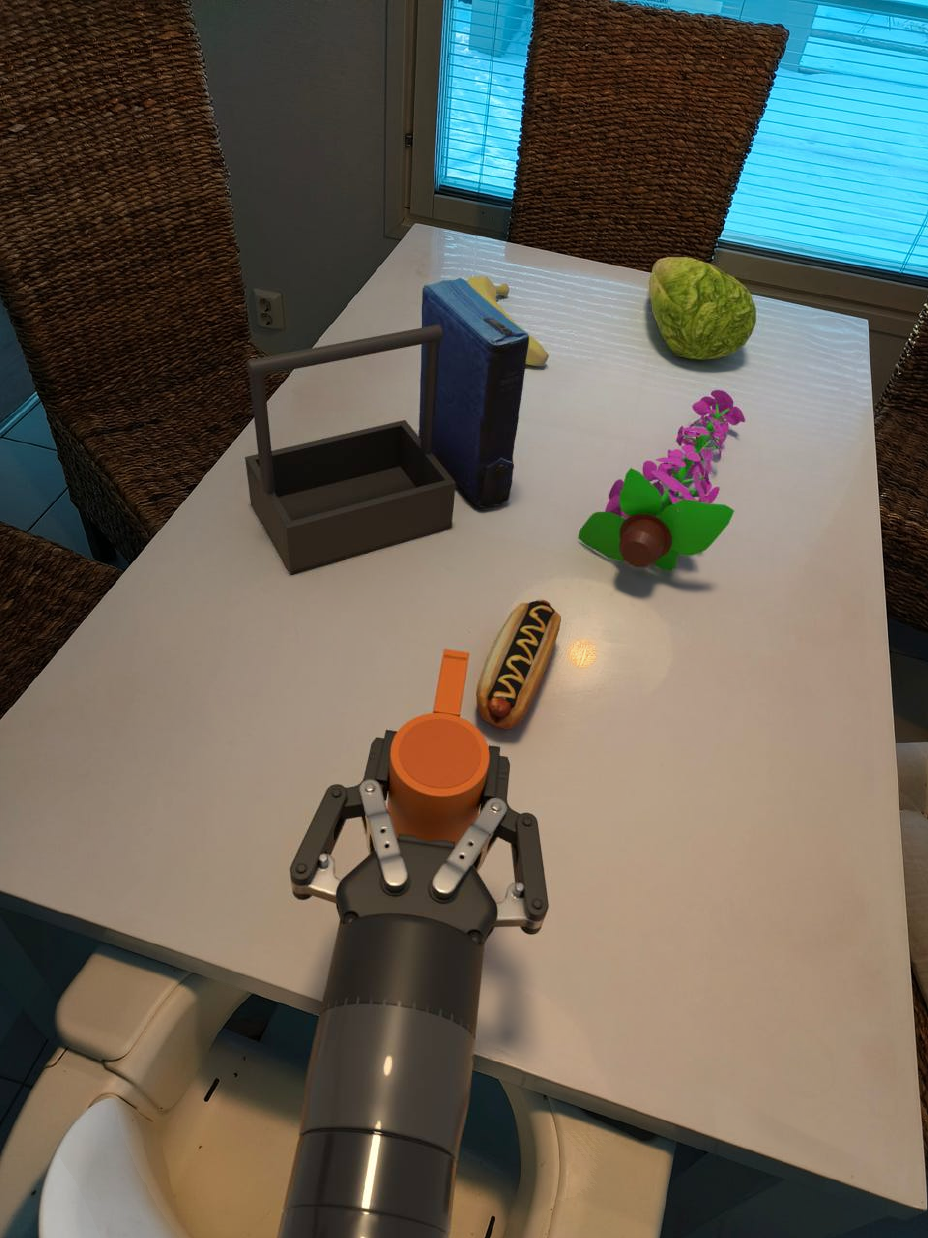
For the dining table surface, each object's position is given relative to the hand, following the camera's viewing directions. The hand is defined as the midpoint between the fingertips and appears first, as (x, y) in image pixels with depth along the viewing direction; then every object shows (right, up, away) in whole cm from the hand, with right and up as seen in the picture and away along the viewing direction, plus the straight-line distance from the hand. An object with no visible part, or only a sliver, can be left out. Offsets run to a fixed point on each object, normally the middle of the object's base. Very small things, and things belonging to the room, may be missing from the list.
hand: (441, 746), depth 52 cm
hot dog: (+6, +2, +24) cm, 25 cm away
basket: (-10, +18, +37) cm, 43 cm away
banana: (+7, +48, +67) cm, 83 cm away
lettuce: (+33, +49, +71) cm, 92 cm away
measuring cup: (-1, -4, +4) cm, 6 cm away
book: (+1, +24, +44) cm, 50 cm away
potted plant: (+24, +21, +44) cm, 54 cm away
